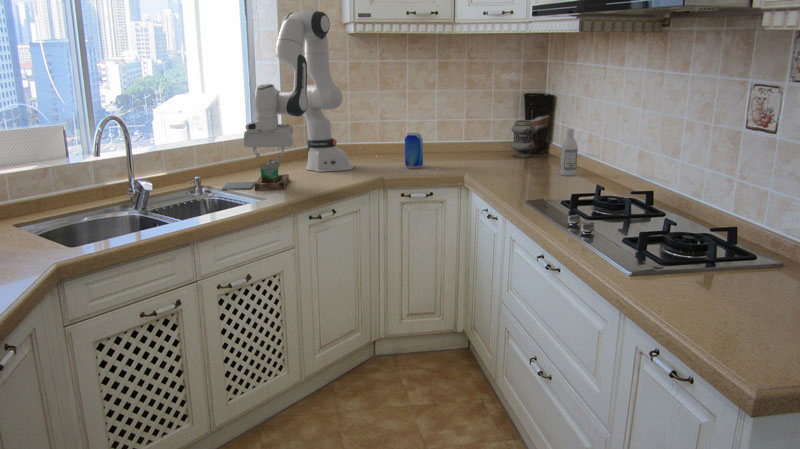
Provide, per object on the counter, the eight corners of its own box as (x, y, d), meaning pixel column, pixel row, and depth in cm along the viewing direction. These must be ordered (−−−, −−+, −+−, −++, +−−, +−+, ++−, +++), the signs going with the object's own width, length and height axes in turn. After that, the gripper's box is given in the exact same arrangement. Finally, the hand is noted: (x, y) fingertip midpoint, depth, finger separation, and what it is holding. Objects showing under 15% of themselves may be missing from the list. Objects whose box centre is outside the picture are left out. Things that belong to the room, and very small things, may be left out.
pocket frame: (288, 179, 283) (288, 174, 283) (284, 189, 266) (283, 183, 265) (261, 180, 283) (261, 175, 282) (254, 190, 265) (254, 184, 264)
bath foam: (579, 175, 281) (582, 129, 275) (566, 176, 278) (569, 130, 272) (568, 172, 287) (571, 127, 281) (556, 173, 284) (558, 128, 278)
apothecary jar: (512, 153, 333) (514, 119, 328) (536, 154, 329) (537, 119, 324) (508, 158, 323) (509, 122, 317) (532, 159, 319) (534, 122, 314)
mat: (255, 182, 279) (255, 181, 278) (250, 189, 267) (250, 187, 267) (227, 183, 278) (227, 182, 278) (221, 190, 266) (221, 188, 266)
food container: (275, 188, 268) (273, 164, 265) (261, 188, 269) (259, 164, 266) (285, 181, 280) (283, 159, 277) (271, 181, 281) (269, 159, 278)
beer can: (402, 168, 302) (401, 134, 298) (409, 165, 310) (408, 132, 305) (419, 169, 299) (418, 135, 295) (425, 166, 307) (425, 132, 302)
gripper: (293, 123, 270) (295, 155, 274) (244, 124, 269) (246, 156, 273) (291, 124, 264) (293, 158, 268) (241, 125, 263) (244, 159, 267)
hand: (269, 157), depth 270 cm, fingers open, 8 cm apart
